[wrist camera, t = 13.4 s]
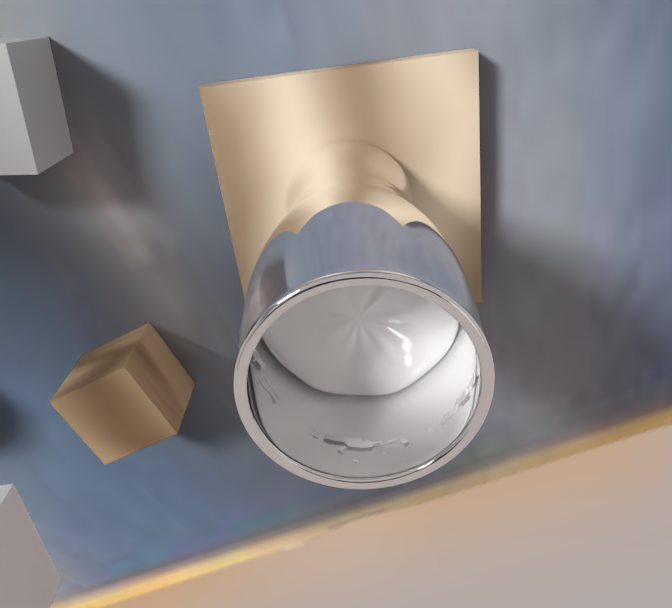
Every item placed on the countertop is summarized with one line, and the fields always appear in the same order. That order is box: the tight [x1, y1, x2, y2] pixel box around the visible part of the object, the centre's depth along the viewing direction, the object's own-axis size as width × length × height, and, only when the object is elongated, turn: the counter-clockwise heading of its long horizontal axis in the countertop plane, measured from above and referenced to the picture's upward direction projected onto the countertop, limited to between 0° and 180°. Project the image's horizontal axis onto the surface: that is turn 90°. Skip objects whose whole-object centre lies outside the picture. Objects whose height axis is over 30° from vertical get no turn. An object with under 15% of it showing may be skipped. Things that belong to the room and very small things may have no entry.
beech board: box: [199, 48, 482, 303], centre depth 29 cm, size 12×12×1 cm
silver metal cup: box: [233, 142, 495, 489], centre depth 22 cm, size 7×7×15 cm
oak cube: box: [50, 322, 195, 465], centre depth 32 cm, size 4×4×4 cm
